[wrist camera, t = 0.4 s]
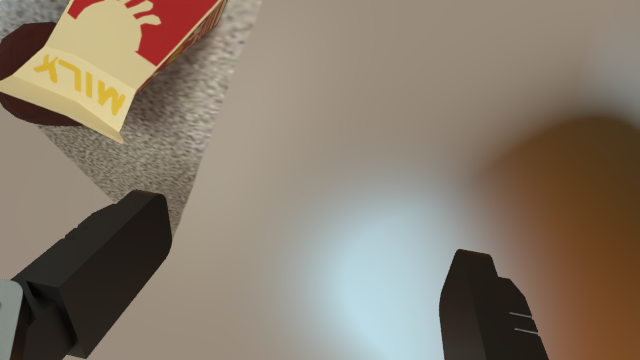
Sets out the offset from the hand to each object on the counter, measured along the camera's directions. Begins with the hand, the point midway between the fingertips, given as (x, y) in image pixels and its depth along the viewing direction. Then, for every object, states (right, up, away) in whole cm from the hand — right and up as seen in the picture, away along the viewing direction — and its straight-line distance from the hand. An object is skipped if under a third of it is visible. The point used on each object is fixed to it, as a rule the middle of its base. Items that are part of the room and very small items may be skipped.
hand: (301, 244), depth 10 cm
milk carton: (-13, +20, +26) cm, 36 cm away
